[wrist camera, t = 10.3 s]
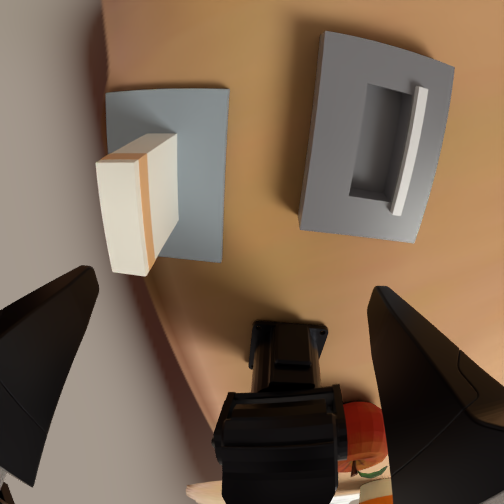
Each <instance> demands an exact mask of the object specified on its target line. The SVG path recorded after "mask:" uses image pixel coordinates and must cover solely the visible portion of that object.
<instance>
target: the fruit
mask: <svg viewBox="0 0 504 504" xmlns="http://www.w3.org/2000/svg"><path fill="white" fill-rule="evenodd" d="M343 407H344V412H345V418H346V426H347V439H348V455H347V460H342V461H338V472H351V477H352V476H355V475H357V474H358V473H359V475H360V476H361V477H366V478H374V477H376V476H379V475H381V474H382V473H383V472H384V471H385V470H386V468H387V466H386V467H384V468H383V469H381V470H380V471H377V472H373V473H370V474H366V473H361V472H359V470H363V469H366V468H369V467H371V466H374V465H376V464H378V463H380V462H382V461H383V460H384V458H385V457H386V456H387V454H388V449H387V441H386V434H385V427H384V421H383V414H382V410H381V409H380V408H379V407H377V406H376V405H374V404H372V403H369V402H350V403H346V404H343ZM357 472H358V473H357Z"/></svg>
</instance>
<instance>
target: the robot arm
mask: <svg viewBox="0 0 504 504" xmlns="http://www.w3.org/2000/svg"><path fill="white" fill-rule="evenodd" d="M98 293H99V285H98V281H97V278H96V275H95V271H94V269H93V267H91V266H85V265H81V266H79V267H77V268H75V269H73V270H72V271H70V272H68V273H66V274H64V275H62V276H60V277H58V278H56V279H55V280H53V281H51V282H49V283H47V284H45V285H44V286H42V287H40V288H38V289H36V290H35V291H33V292H31V293H29V294H27V295H26V296H24V297H22V298H20V299H19V300H17V301H15V302H13V303H12V304H10V305H8V306H7V307H5V308H3V310H0V504H15V503H14V501H13V498H12V495H11V493H10V490H9V487H8V484H6V483H5V482H4V479H5V476H6V473H9V474H10V475H12V476H13V477H15V478H17V479H18V480H20V481H22V482H23V483H25V484H27V485H29V486H31V487H33V486H34V483H35V479H36V475H37V471H38V467H39V463H40V459H41V455H42V452H43V448H44V444H45V441H46V438H47V434H48V431H49V428H50V424H51V421H52V418H53V415H54V412H55V409H56V406H57V403H58V400H59V397H60V395H61V392H62V389H63V386H64V384H65V381H66V378H67V376H68V373H69V371H70V368H71V365H72V363H73V360H74V358H75V355H76V353H77V351H78V348H79V346H80V343H81V341H82V339H83V336H84V334H85V331H86V329H87V326H88V323H89V320H90V317H91V314H92V311H93V308H94V305H95V302H96V299H97V296H98ZM367 316H368V325H369V335H370V345H371V354H372V360H373V365H374V370H375V375H376V380H377V386H378V391H379V397H380V402H381V408H382V414H383V421H384V427H385V434H386V441H387V449H388V456H389V465H390V474H391V485H392V496H393V504H504V386H503V385H501V384H500V383H499V382H498V381H496V380H495V379H494V378H493V377H491V376H490V375H489V374H488V373H487V372H485V371H484V370H483V369H482V368H480V367H479V366H478V365H477V364H476V363H475V362H474V361H473V360H471V359H470V358H469V357H468V356H467V355H466V354H465V353H464V352H463V351H462V350H459V348H458V347H457V346H456V345H455V344H454V343H453V342H452V341H450V340H449V339H448V338H447V337H446V336H445V335H444V334H443V333H441V332H440V331H439V330H438V329H437V328H436V327H435V326H434V325H432V324H431V323H430V322H429V321H428V320H427V319H426V318H424V317H423V316H422V315H421V314H420V313H419V312H417V311H416V310H415V309H414V308H413V307H412V306H410V305H409V304H408V303H407V302H406V301H405V300H403V299H402V298H401V297H400V296H399V295H397V294H396V293H395V292H394V291H393V290H391V289H390V288H389V287H387V286H376V287H374V289H373V292H372V295H371V298H370V301H369V304H368V308H367ZM257 326H260V327H257ZM321 331H323V332H321ZM327 335H328V328H327V327H326V326H321V325H306V324H293V323H280V322H269V321H255V322H254V323H253V329H252V338H251V347H250V356H249V368H250V369H253V376H252V387H251V393H235V392H228V395H227V398H226V400H225V401H224V404H223V407H222V410H221V413H220V416H219V419H218V422H217V425H216V428H215V431H214V436H213V438H212V446H213V447H214V448H215V453H216V458H217V460H218V462H219V464H220V465H222V469H223V470H222V471H223V476H222V497H223V499H224V501H225V502H226V504H329V503H330V502H331V500H332V498H333V496H334V495H335V491H336V490H337V487H338V461H342V460H347V455H348V439H347V426H346V418H345V412H344V407H343V401H342V396H341V390H340V385H339V384H335V385H332V386H328V387H321V379H320V368H319V358H320V355H321V352H322V350H323V347H324V344H325V341H326V338H327Z"/></svg>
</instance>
